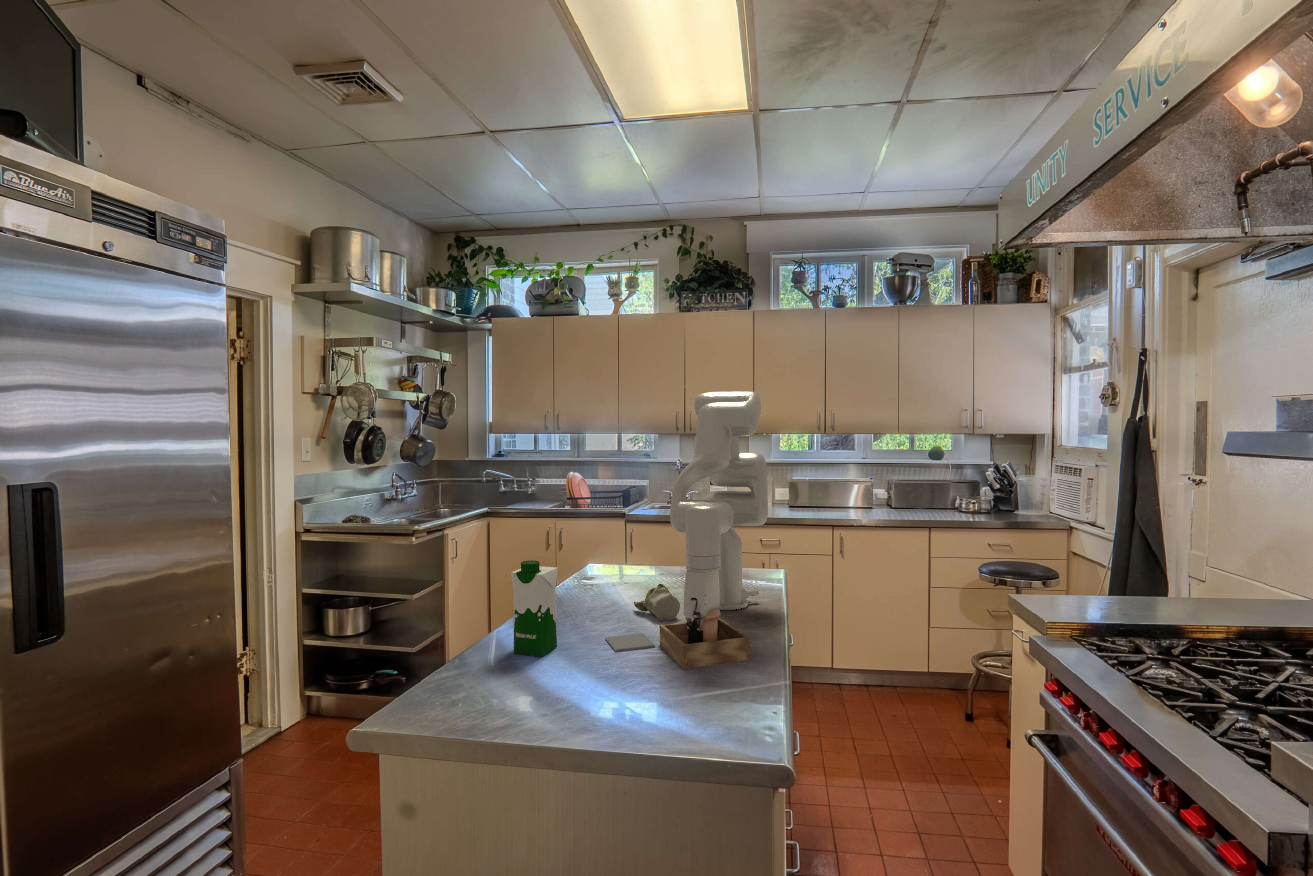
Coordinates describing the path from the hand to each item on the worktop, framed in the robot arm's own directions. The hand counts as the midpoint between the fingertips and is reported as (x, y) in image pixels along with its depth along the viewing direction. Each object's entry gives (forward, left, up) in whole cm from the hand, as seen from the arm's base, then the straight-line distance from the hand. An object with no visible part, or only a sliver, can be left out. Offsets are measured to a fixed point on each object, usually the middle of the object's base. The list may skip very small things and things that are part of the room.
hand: (703, 642), depth 141 cm
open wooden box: (0, 0, -3) cm, 3 cm away
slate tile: (+13, -11, -3) cm, 18 cm away
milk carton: (+34, -15, -3) cm, 37 cm away
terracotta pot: (0, 0, -2) cm, 2 cm away
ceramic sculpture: (-1, -32, -3) cm, 32 cm away
